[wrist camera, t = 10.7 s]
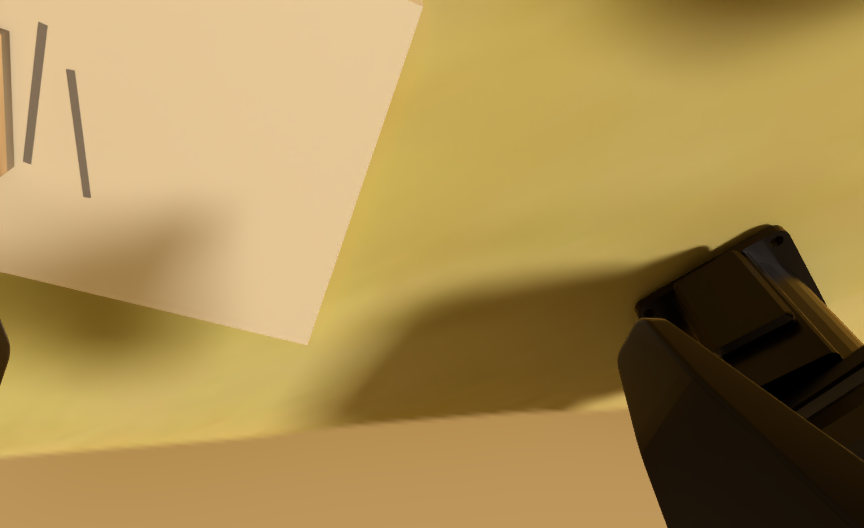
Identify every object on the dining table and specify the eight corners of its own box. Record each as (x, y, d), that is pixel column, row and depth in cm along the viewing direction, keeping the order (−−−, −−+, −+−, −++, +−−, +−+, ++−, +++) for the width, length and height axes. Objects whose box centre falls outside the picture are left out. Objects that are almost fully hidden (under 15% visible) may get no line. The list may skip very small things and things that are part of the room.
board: (422, -1, 17) (423, 6, 16) (310, 329, 24) (307, 345, 24) (-551, -393, 12) (-623, -413, 11) (-324, 173, 19) (-356, 187, 18)
